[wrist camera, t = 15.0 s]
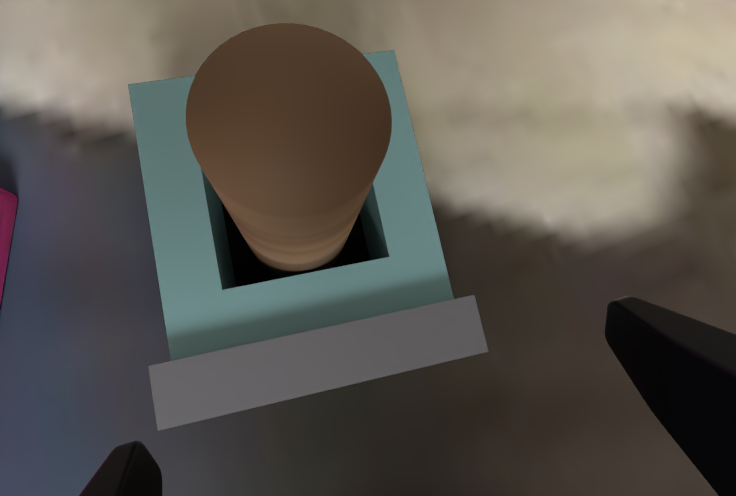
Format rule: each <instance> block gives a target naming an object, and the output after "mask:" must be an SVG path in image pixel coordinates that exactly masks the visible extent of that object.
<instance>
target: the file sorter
mask: <svg viewBox="0 0 736 496" xmlns="http://www.w3.org/2000/svg"><path fill="white" fill-rule="evenodd" d="M16 210H17V197H16V195H14V194H12V193H10V192H8V191H6V190H3V189H1V188H0V304H1V298H2V292H3V285H4V279H5V273H6V267H7V262H8V256H9V250H10V244H11V238H12V233H13V227H14V221H15V215H16Z"/></svg>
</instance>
